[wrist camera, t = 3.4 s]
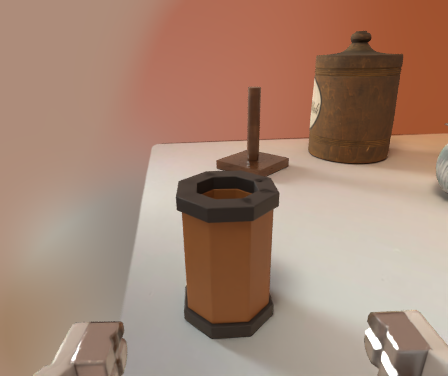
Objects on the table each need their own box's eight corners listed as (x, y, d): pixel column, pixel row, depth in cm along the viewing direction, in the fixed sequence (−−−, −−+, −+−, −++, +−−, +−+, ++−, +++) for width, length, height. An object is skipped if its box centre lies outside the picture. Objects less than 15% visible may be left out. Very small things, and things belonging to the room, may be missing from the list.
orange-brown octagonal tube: (167, 307, 26) (156, 188, 22) (223, 269, 30) (222, 165, 26) (232, 354, 22) (232, 218, 18) (286, 301, 26) (294, 184, 22)
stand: (216, 168, 57) (214, 87, 52) (247, 157, 64) (249, 84, 59) (258, 179, 52) (261, 91, 47) (288, 166, 58) (293, 86, 53)
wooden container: (326, 140, 75) (337, 34, 67) (396, 151, 66) (419, 30, 58) (294, 154, 65) (303, 31, 56) (372, 169, 56) (395, 25, 48)
